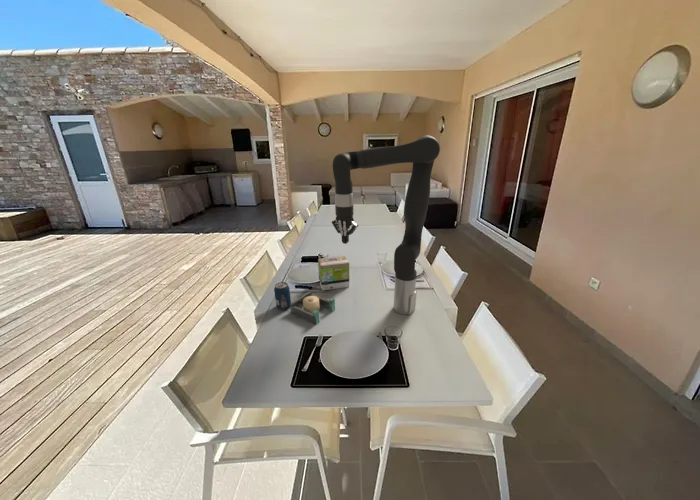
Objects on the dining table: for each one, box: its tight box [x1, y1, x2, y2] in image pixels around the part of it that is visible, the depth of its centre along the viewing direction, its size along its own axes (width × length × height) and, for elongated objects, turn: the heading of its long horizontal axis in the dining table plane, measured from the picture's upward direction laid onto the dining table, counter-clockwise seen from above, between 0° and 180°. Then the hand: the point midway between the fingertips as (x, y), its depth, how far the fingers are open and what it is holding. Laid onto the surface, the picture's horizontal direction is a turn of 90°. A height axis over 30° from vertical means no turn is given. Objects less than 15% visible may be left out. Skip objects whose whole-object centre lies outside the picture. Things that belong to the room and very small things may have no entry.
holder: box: [289, 291, 336, 326], centre depth 132 cm, size 16×13×6 cm
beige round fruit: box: [302, 296, 321, 314], centre depth 132 cm, size 7×7×6 cm
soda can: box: [273, 281, 292, 311], centre depth 134 cm, size 7×7×12 cm
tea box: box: [317, 255, 350, 292], centre depth 153 cm, size 15×10×15 cm, turn 105°
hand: (345, 242), depth 125 cm, fingers closed
